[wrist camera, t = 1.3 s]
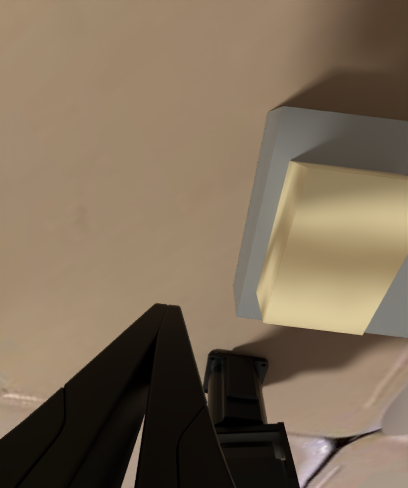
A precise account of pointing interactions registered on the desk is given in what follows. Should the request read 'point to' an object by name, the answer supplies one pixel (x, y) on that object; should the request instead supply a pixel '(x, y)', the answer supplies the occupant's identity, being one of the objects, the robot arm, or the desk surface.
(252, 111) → the desk surface
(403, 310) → the gray deck
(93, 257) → the desk surface
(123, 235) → the desk surface
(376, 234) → the maple block
